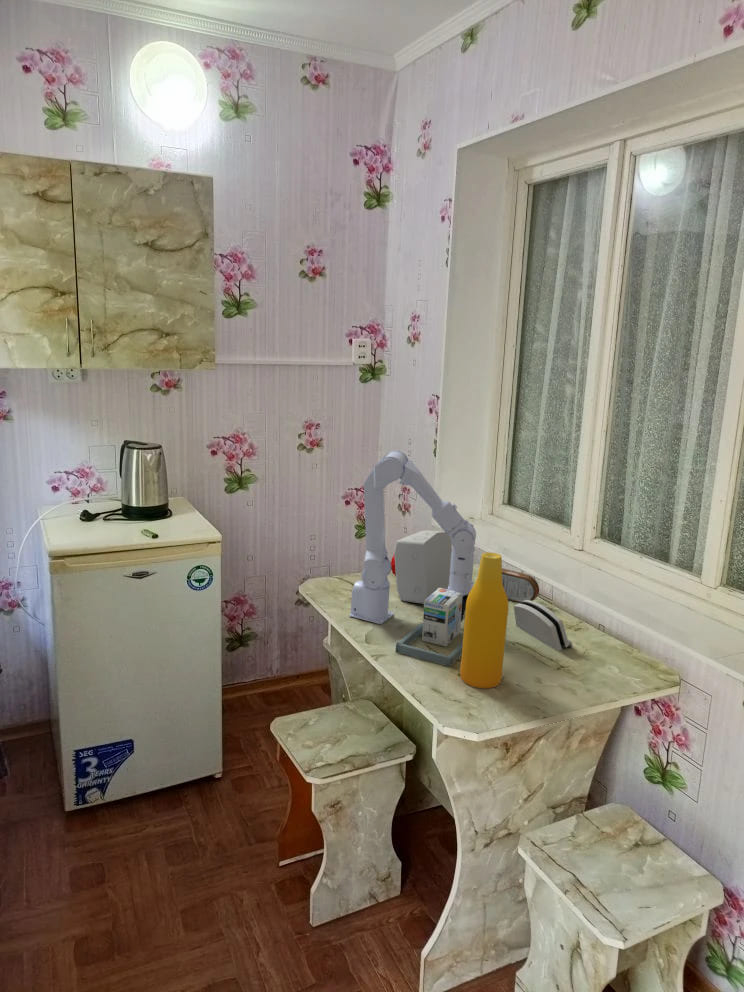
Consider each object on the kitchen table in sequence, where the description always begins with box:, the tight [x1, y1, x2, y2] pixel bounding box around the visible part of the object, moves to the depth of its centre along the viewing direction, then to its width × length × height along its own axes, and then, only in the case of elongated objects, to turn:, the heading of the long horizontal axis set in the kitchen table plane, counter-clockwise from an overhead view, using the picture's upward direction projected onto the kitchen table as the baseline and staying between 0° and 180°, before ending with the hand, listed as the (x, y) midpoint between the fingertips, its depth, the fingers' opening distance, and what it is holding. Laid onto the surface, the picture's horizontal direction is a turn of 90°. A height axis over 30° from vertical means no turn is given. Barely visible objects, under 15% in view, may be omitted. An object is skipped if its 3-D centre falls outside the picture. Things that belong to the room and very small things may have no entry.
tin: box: [502, 567, 540, 604], centre depth 216 cm, size 15×3×8 cm, turn 58°
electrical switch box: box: [390, 529, 453, 605], centre depth 215 cm, size 14×15×20 cm
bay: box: [395, 622, 463, 667], centre depth 183 cm, size 14×15×2 cm
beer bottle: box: [459, 551, 509, 689], centre depth 165 cm, size 9×9×29 cm
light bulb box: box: [421, 588, 463, 647], centre depth 189 cm, size 11×7×11 cm, turn 155°
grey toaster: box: [513, 600, 574, 652], centre depth 191 cm, size 17×5×10 cm, turn 27°
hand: (457, 621), depth 196 cm, fingers closed
